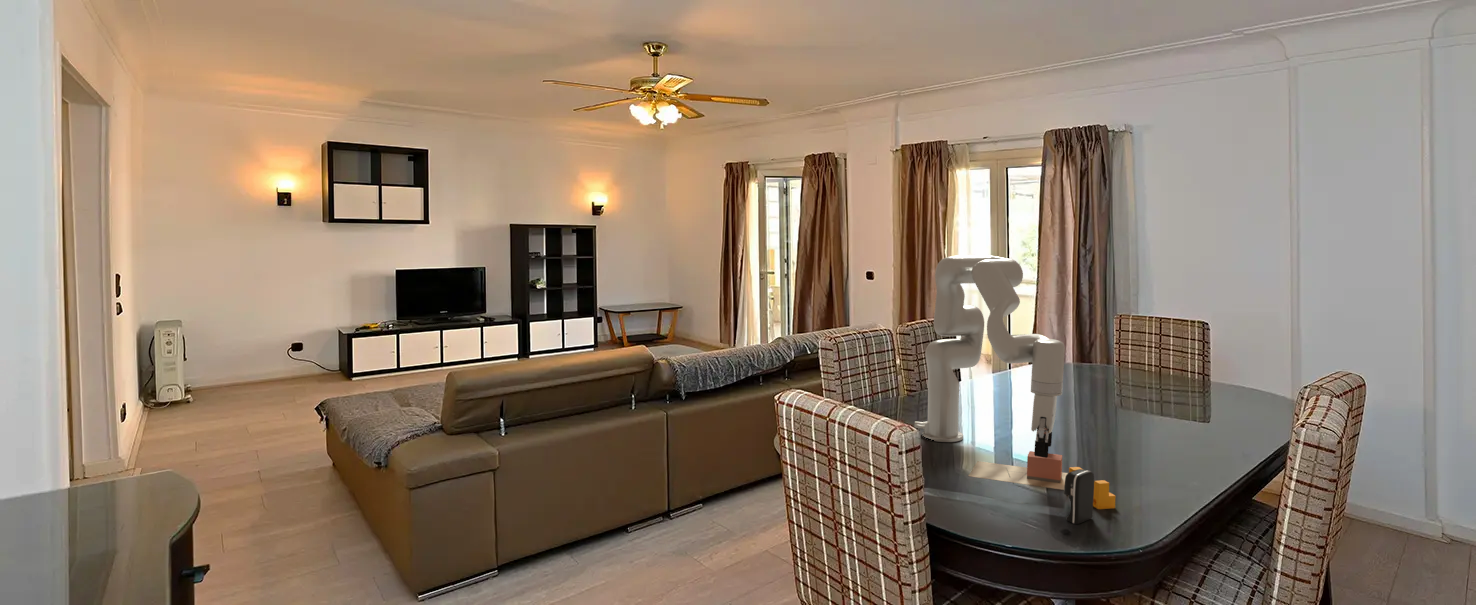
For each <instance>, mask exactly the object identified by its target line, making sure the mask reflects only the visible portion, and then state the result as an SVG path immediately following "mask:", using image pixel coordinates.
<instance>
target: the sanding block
mask: <svg viewBox="0 0 1476 605" xmlns="http://www.w3.org/2000/svg"><path fill="white" fill-rule="evenodd" d="M1026 457H1027V459H1026V460H1027V462H1026V464H1027V466H1026V468H1027V479H1032V480H1040V481H1047V482H1054V483H1060V482H1061V478H1062V472H1063V455H1062V454H1057V453H1049V452H1048V457H1047V458H1045V457H1038V456H1035V455H1034V451H1032V450H1031V451H1030V450H1029V452H1028V454H1027V456H1026Z"/></svg>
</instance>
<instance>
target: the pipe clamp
mask: <svg viewBox="0 0 1476 605" xmlns="http://www.w3.org/2000/svg"><path fill="white" fill-rule="evenodd" d="M1078 469H1083V468H1081V467H1080V466H1073V467H1072V466H1071V467H1069V468H1068V473H1069V472H1072V471H1075V470H1078ZM1116 497H1117V496H1116V495H1115V494H1113V493H1112V492H1110V482H1109V481H1106V480H1105V479H1103V480H1102V479H1101V480H1094V497H1093V508H1096V509H1097V510H1105V509H1116Z"/></svg>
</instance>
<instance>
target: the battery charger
mask: <svg viewBox="0 0 1476 605" xmlns="http://www.w3.org/2000/svg"><path fill="white" fill-rule="evenodd" d="M1067 473H1068V474H1067V475H1066V477H1065V485H1064V490H1063V492H1064V495H1065V496H1066V495H1067V497H1068V500H1069V501H1070V512H1069V514H1068V516H1066V517H1065V519H1066V521H1067V522H1070V523H1072V524H1076V525H1079V524H1081V523H1084V522H1087V521H1089V520H1090V519H1091V520H1092V518H1093V516H1094V515H1093V514H1094V512H1093V511H1094V506H1093V497H1094V481H1095V474H1094V473H1093V472H1092V471H1091V470H1086V469H1083V468H1082V469H1078V470H1075V471H1072V472H1069V471H1068V472H1067Z"/></svg>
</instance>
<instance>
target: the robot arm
mask: <svg viewBox="0 0 1476 605" xmlns="http://www.w3.org/2000/svg"><path fill="white" fill-rule="evenodd" d="M1023 279H1024V272H1023V268H1022V267H1021V265H1020V264H1019V262H1018V261H1017V260H1015V259H1013V258H1006V257H1001V256H995V255H989V254H988V255H985V254H982V255H975V254H974V255H951V256H946V257H944V258H942V259H940V261H939V262H938V263H937V265H936V267H935V273H934V280H935V286H936V295H935V305H934V313H933V314H934V316H933V329H934V332H935V333H936V334H937V335H938V336H942V337H960V338H944V339H937V340H933V341H931V342H930V343H929V344H928V345H927V346H926V348H925V355H924V356H925V361H926V368H927V388H928V389H927V421H923V422H922V421H914V428H916V429H917V428H918V430H923V431H922V434H923V435H922V437H923V436H924V437H926V438H929V439H931V440H930V441H932V440H934V441H933V442H939V443H955V442H960V441H962V440H963V439H964V434H963V433H962V432H960V431H959V412H960V411H959V406H960V405H959V404H960V400H959V399H960V395H959V394H960V381H959V379H958V378H957V376H956V375H955V372H954V370H956V369H968V368H973V367H976V366H977V365H978V364H979V362H980V359H981V356H982V350H983V339H984V331H985V318H984V314H983V312H982V311H981V309H980V308H978V306H976V305H975V306H974V305H970V304H969V305H967V304H965V299H966V298H965V297H966V296H965V295H966V294H965V290H964V289H963V286H962V285H961V284H974V285H975V286H976V287H977V289H978V291H979V294H980V295H981V297H982V299H983V300H984V303H985V305H986V307H987V308H988V310H989V315H988V317H987V322H986V335H987V338H988V341H989V343H990V345H991V347H992V349H993V351H994V353H995V354H996V355H997V357H998V358H999V359H1000V361H1002V362H1004V363H1006V364H1011V365H1012V364H1023V363H1032V364H1031V376H1030V377H1031V378H1030V379H1031V380H1030V392H1031V393H1032V394H1034V395H1033V396H1034V397H1033V402H1032V403H1033V404H1032V405H1033V406H1032V415H1031V416H1032V417H1031V418H1032V419H1031V427H1030V428H1031V429H1030V430H1031V431H1032V432H1036V436H1035V440H1034V451H1033V452H1034V455H1035V456H1038V457H1045V458H1047V457H1048V453H1049V448H1050V447H1052V442H1053V429H1054V426H1055V425H1054V424H1055V421H1056V412H1057V400H1058V396H1062V395H1063V388H1064V382H1063V381H1064V369H1065V356H1066V355H1065V352H1066V347H1065V346H1066V345H1065V343H1064V342H1063V341H1062V340H1058V339H1054V338H1053V339H1052V338H1049V337H1047V336H1045V335H1043V334H1041V333H1040V334H1039V333H1024V334H1010V333H1009V331H1008V329H1007V328H1006V326H1005V322H1004V318H1005V317H1008V315H1010V314H1011V315H1012V313H1013V312H1015V310H1017V309H1018V307H1020V306H1019V305H1020V304H1021V300H1020V296H1019V295H1018V294H1017V292H1016V290H1015V289H1014V288H1016V287H1018V286H1020V285H1021V284H1022V282H1023ZM964 304H965V305H964ZM924 437H923V438H924ZM926 438H925V439H926Z"/></svg>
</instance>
